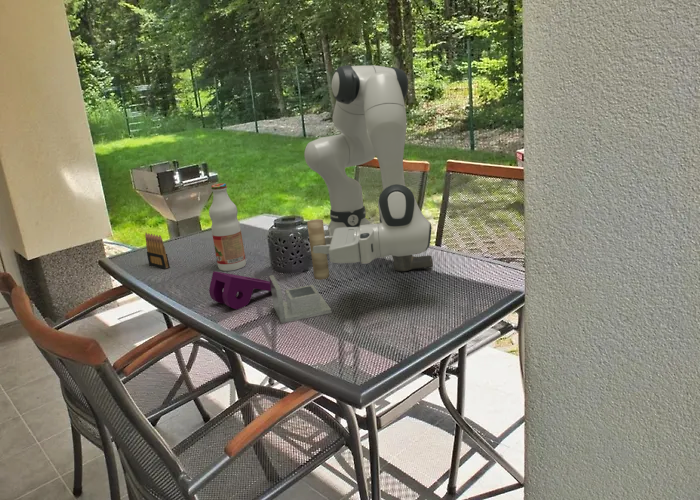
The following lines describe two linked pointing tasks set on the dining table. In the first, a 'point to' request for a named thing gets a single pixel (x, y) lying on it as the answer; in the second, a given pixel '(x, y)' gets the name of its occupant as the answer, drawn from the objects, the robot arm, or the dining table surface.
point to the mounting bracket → (234, 289)
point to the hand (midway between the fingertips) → (314, 246)
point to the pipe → (412, 262)
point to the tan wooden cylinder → (318, 258)
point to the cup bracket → (297, 302)
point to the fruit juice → (226, 230)
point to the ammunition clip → (156, 251)
